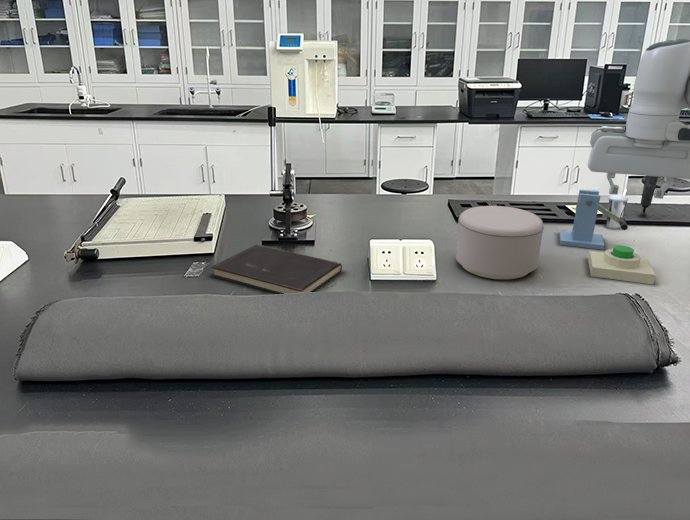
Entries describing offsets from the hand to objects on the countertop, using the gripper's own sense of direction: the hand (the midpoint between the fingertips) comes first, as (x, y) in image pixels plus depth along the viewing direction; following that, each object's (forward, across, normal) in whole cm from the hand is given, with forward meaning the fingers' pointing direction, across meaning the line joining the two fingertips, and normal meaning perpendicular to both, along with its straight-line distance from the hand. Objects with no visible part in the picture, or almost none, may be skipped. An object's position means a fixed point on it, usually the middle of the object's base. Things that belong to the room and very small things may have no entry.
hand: (635, 195), depth 110 cm
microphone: (+17, +11, +46) cm, 50 cm away
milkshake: (+17, +2, +33) cm, 37 cm away
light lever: (+10, -4, +17) cm, 20 cm away
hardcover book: (+17, -70, -27) cm, 77 cm away
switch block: (+17, 0, 0) cm, 17 cm away
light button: (+13, 0, 0) cm, 13 cm away
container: (+17, -26, -6) cm, 32 cm away
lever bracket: (+17, -7, +17) cm, 25 cm away
